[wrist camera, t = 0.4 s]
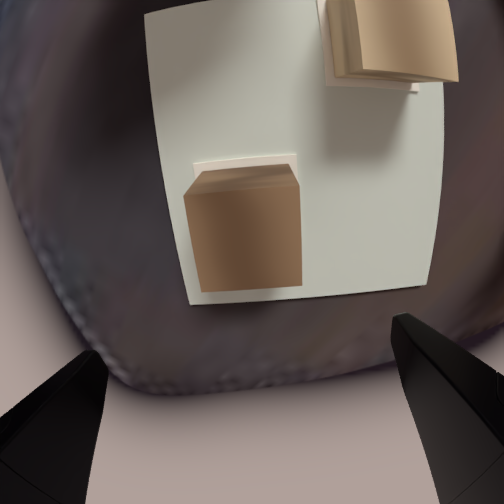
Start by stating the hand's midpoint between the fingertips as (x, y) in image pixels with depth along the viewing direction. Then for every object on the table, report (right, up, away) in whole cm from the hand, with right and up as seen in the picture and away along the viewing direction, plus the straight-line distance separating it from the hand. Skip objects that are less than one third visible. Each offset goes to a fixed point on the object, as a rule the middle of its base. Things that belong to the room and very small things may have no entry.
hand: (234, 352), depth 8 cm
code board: (+4, +9, +10) cm, 13 cm away
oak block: (+7, +15, +5) cm, 17 cm away
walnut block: (0, +5, +10) cm, 12 cm away
